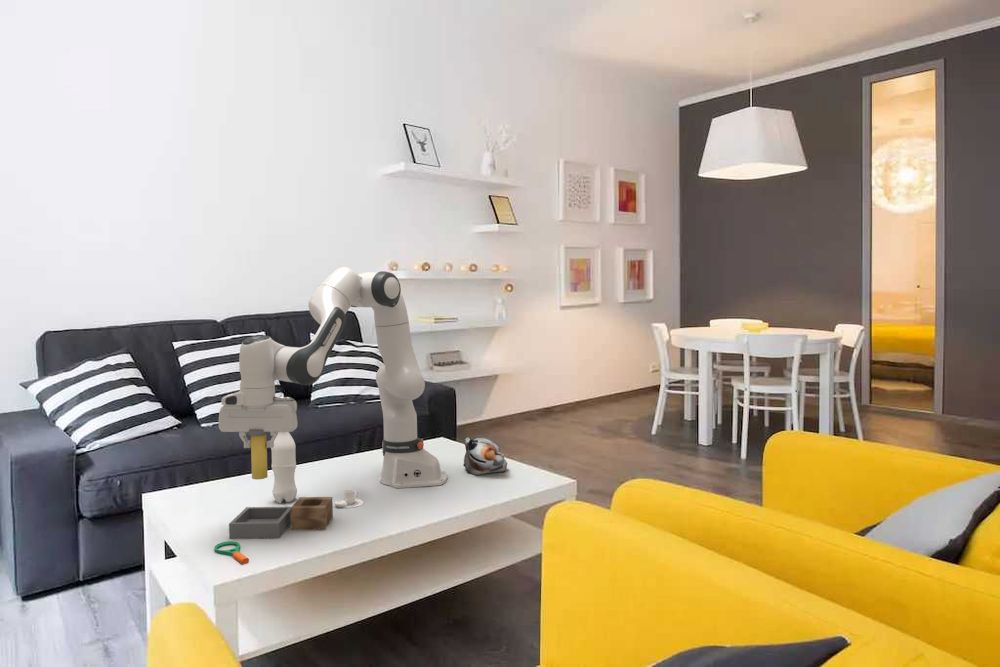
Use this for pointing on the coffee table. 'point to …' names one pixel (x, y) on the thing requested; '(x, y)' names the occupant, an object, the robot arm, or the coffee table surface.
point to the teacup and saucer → (349, 499)
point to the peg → (258, 453)
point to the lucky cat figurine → (483, 457)
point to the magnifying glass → (232, 551)
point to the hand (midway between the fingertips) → (259, 447)
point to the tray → (260, 523)
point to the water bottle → (284, 467)
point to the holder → (311, 513)
